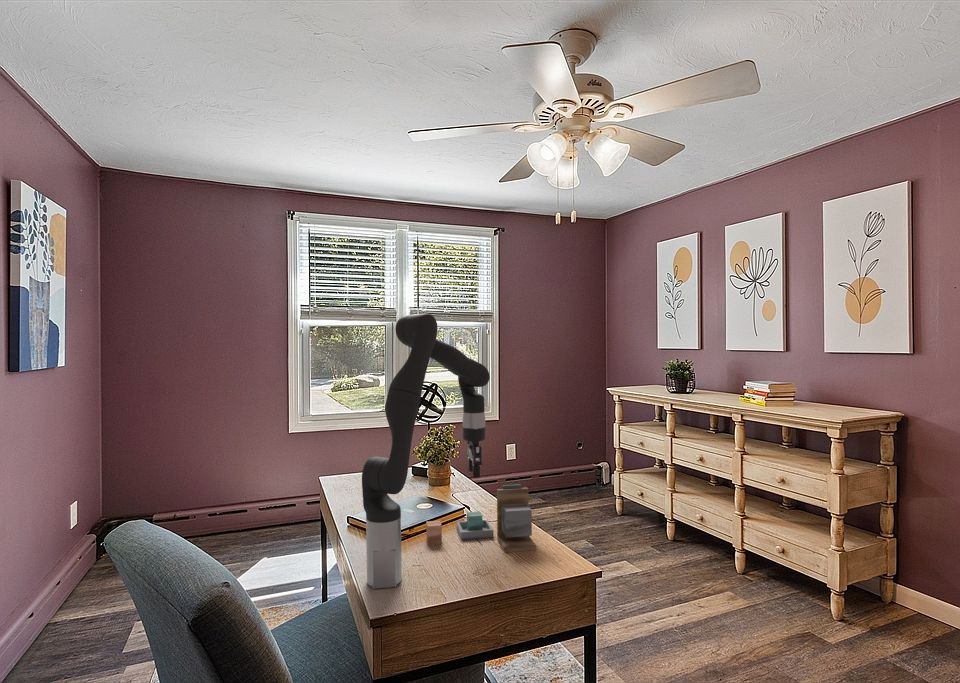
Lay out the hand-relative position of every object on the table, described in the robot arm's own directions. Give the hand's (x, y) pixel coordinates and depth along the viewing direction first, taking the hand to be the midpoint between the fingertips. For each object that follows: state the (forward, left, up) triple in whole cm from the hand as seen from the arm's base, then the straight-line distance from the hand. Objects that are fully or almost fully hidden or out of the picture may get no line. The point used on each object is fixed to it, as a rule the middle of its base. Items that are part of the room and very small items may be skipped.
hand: (474, 474), depth 189 cm
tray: (0, 0, -20) cm, 20 cm away
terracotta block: (-5, +14, -20) cm, 25 cm away
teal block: (0, 0, -19) cm, 19 cm away
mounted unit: (-13, -11, -20) cm, 26 cm away
